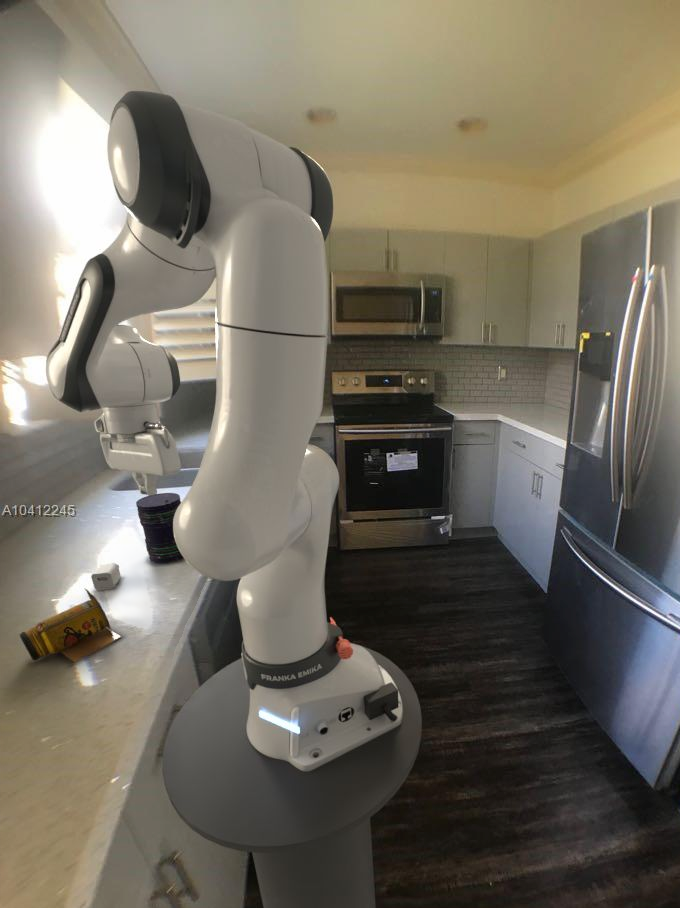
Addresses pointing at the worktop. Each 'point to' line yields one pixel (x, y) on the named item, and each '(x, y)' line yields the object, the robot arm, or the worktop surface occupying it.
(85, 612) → the condiment
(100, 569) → the usb wall charger
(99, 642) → the copper flat rectangular plate
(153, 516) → the storage jar
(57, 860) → the worktop surface
